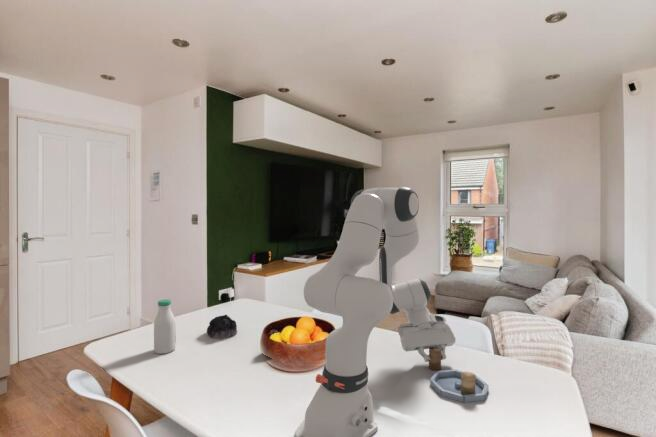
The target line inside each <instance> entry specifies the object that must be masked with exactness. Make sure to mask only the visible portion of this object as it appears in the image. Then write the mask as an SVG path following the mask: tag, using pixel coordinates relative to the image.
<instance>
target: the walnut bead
mask: <svg viewBox="0 0 656 437" xmlns="http://www.w3.org/2000/svg"><path fill="white" fill-rule="evenodd" d="M428 352H429V353H428V355H429V356H430V359H431V360H430V361H429V362H428V369H429V370H431V371H433V372H436V371H442V360H441V349H440V348H438V347H430V348H429V350H428Z"/></svg>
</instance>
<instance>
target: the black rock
mask: <svg viewBox="0 0 656 437" xmlns="http://www.w3.org/2000/svg"><path fill="white" fill-rule="evenodd" d="M237 326H238V325H237V322H236V320H235V319H232V318H231V317H230V316H229V315H227V314H224V315H219V316H215V317H214V318H212V319H211V320H209V325H208V326H207V328H206V334H207V335H208V336H209V337H210V338H213V339H215V340H219V339H220V340H222V339H227V338H229V337H233V336H234V335H237V334H238V329H237V328H238V327H237Z"/></svg>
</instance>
